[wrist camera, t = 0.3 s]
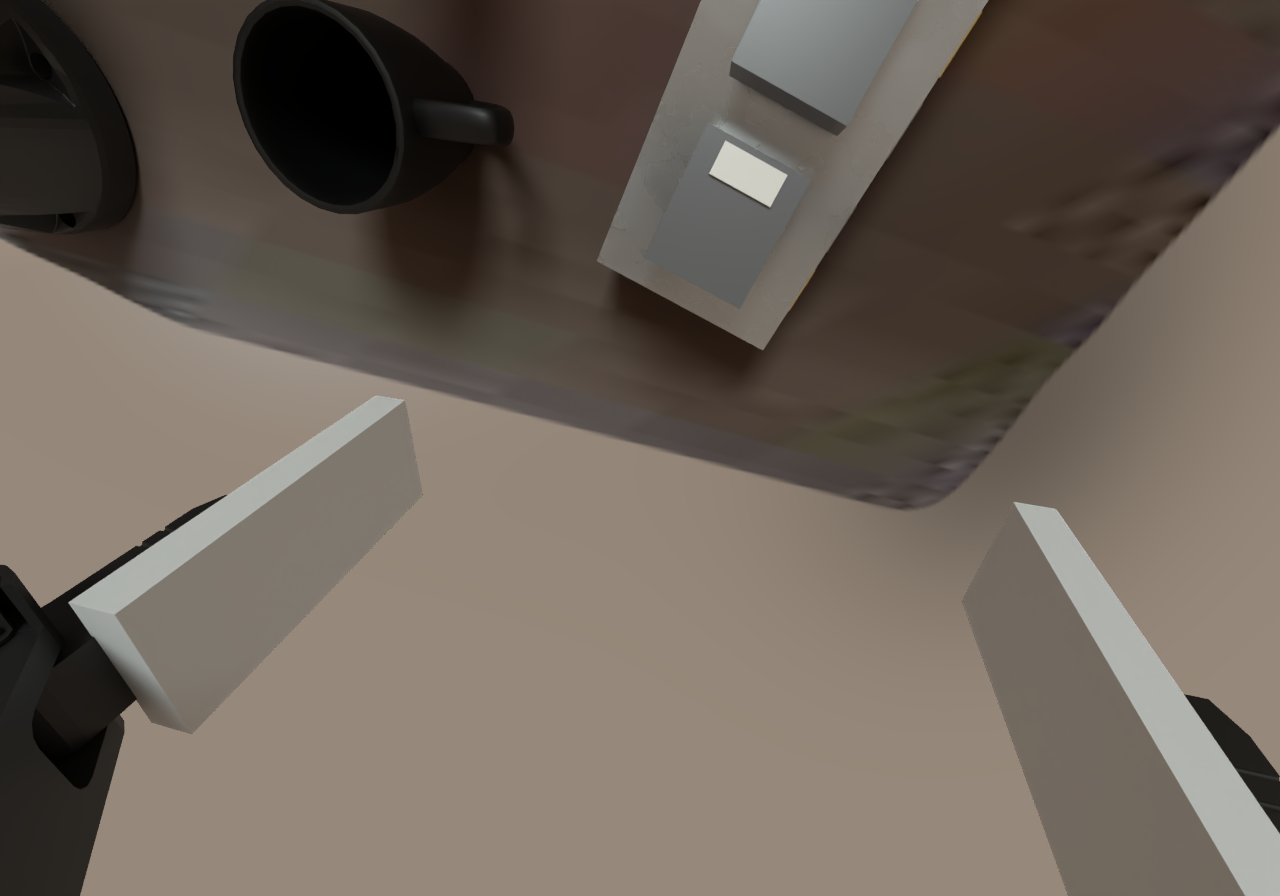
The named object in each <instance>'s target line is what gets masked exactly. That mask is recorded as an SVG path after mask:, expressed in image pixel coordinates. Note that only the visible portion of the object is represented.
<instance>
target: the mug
mask: <svg viewBox="0 0 1280 896" xmlns="http://www.w3.org/2000/svg"><path fill="white" fill-rule="evenodd" d="M233 81H234V87H235V93H236V99H237V104H238V107H239V110H240V113H241V116H242V119H243V122H244V125H245V128H246V130H247V132H248V134H249V136H250V138H251V140H252V142H253V144H254V146H255V148H256V150H257V151H258V153H259V154H260V156H261V157H262V159H263V160H264V161H265V163H266V164H267V166H268V167H269V169H270V170H271V171H272V172H273V173H274V174H275V175H276V176H277V177H278V179H279V180H280V181H281V182H282V183H283V184H284V185H285V186H286V187H287V188H289V189H290V190H291V191H292V192H294V193H295V194H296V195H297V196H299V197H300V198H301V199H303V200H305V201H307V202H309V203H310V204H312V205H314V206H316V207H318V208H321V209H324V210H327V211H331V212H334V213H338V214H359V213H363V212H368V211H372V210H377V209H381V208H385V207H389V206H393V205H396V204H400V203H404V202H407V201H410V200H412V199H414V198H416V197H418V196H420V195H422V194H423V193H425V192H426V191H428V190H430V189H431V188H433V187H434V186H436V185H437V184H439V183H440V182H442V181H443V180H444V179H445V178H446V177H447V176H448V175H449V174H450V173H451V172H452V171H453V170H454V169H455V168H456V167H457V166H458V165H459V164H460V163H461V162H462V161H464V160H465V158H466V157H467V156H468V155H469V154H470V152H471V150H472V148H473V146H474V144H477V145H486V146H506V145H508V144H510V143H511V141H512V139H513V136H514V122H513V117H512V115H511V112H510V111H509V110H508V109H507V108H505V107H503V106H500V105H497V104H492V103H486V102H479V101H474V99H473V96H472V93H471V91H470V89H469V87H468V85H467V84H466V82H465V81H464V79H463V78H462V77H461V75H460V74H459V73H458V72H457V71H456V70H455V69H454V68H453V67H452V66H451V65H449V64H448V63H446V62H445V61H444V60H443V59H442V58H440V57H439V56H438V55H437V54H436V53H435V52H434V51H433V50H431V49H430V48H429V47H428V46H427V45H425V44H424V43H423V42H422V41H420V40H419V39H417V38H416V37H415V36H413V35H412V34H410V33H408V32H406V31H405V30H403V29H401V28H400V27H398V26H396V25H394V24H392V23H391V22H389V21H387V20H385V19H383V18H381V17H379V16H377V15H375V14H373V13H371V12H368V11H365V10H361V9H358V8H354V7H351V6H347V5H343V4H339V3H335V2H331V1H327V0H266V1H264V2H262V3H261V4H259V5H258V6H257V7H256V8H255V9H254V10H253V11H252V12H251V13H250V14H249V15H248V16H247V18H246V20H245V21H244V23H243V25H242V27H241V29H240V31H239V33H238V36H237V41H236V46H235V50H234V55H233Z"/></svg>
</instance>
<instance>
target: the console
mask: <svg viewBox="0 0 1280 896" xmlns="http://www.w3.org/2000/svg"><path fill="white" fill-rule="evenodd" d="M759 2H760V0H701V2H700V5H699V7H698V10H697V12H696V15H695V17H694V20H693V22H692V25H691V27H690V30H689V32H688V35H687V37H686V40H685V42H684V45H683V47H682V50H681V52H680V55H679V57H678V60H677V62H676V65H675V67H674V70H673V72H672V75H671V77H670V80H669V82H668V85H667V87H666V90H665V92H664V95H663V97H662V100H661V102H660V105H659V107H658V110H657V112H656V115H655V117H654V120H653V122H652V125H651V127H650V130H649V132H648V135H647V137H646V140H645V142H644V145H643V147H642V150H641V152H640V155H639V157H638V160H637V162H636V165H635V167H634V170H633V172H632V175H631V177H630V180H629V182H628V185H627V187H626V190H625V192H624V195H623V197H622V199H621V202H620V204H619V207H618V209H617V212H616V214H615V217H614V219H613V222H612V224H611V227H610V229H609V232H608V234H607V237H606V239H605V242H604V244H603V247H602V249H601V252H600V254H599V257H598V259H597V261H598V262H599V263H601V264H603V265H605V266H607V267H609V268H611V269H612V270H614V271H616V272H618V273H620V274H622V275H624V276H625V277H627V278H629V279H631V280H633V281H635V282H637V283H638V284H640V285H642V286H644V287H646V288H648V289H650V290H651V291H653V292H655V293H657V294H659V295H661V296H663V297H664V298H666V299H668V300H670V301H672V302H674V303H676V304H677V305H679V306H681V307H683V308H685V309H687V310H689V311H690V312H692V313H694V314H696V315H698V316H700V317H702V318H703V319H705V320H707V321H709V322H711V323H713V324H715V325H716V326H718V327H720V328H722V329H724V330H726V331H728V332H729V333H731V334H733V335H735V336H737V337H739V338H741V339H742V340H744V341H746V342H748V343H750V344H752V345H754V346H755V347H757V348H759V349H761V350H764V348H765V347H766V345H767V343H768V342H769V340H770V339H771V337H772V336H773V334H774V333H775V331H776V329H777V328H778V326H779V325H780V323H781V322H782V320H783V319H784V317H785V315H786V314H787V312H788V311H790V309H791V308H792V306H793V305H794V303H795V302H796V300H797V299H798V297H799V296H800V294H801V292H802V291H803V289H804V288H805V286H806V285H807V283H808V282H809V280H810V278H811V277H812V275H813V274H814V272H815V271H816V267H817V266H818V264H819V263H820V261H821V260H822V258H823V256H824V255H825V253H826V252H828V251H829V249H830V247H831V246H832V244H833V243H834V241H835V240H836V238H837V237H838V235H839V234H840V232H841V230H842V229H843V227H844V226H845V224H846V223H847V221H848V220H849V218H850V216H851V215H852V213H853V212H854V210H855V209H856V207H857V204H858V202H859V201H860V199H861V197H862V196H863V194H864V193H865V191H866V190H867V188H868V187H869V185H870V183H871V182H872V180H873V179H874V177H875V176H876V174H877V173H878V171H879V169H880V168H881V166H882V165H883V163H884V162H885V160H886V159H888V158H889V156H890V154H891V153H892V151H893V150H894V148H895V147H896V145H897V144H898V142H899V141H900V139H901V137H902V136H903V134H904V133H905V131H906V130H907V128H908V127H909V125H910V123H911V122H912V120H913V119H914V117H915V116H916V114H917V113H918V111H919V110H920V108H921V106H922V105H923V101H924V100H925V98H926V96H927V95H928V93H929V92H930V90H931V89H932V87H933V86H934V84H935V82H936V81H937V79H938V78H940V77H941V75H942V74H943V72H944V71H945V69H946V68H947V66H948V65H949V63H950V61H951V60H952V58H953V57H954V55H955V54H956V52H957V51H958V49H959V48H960V46H961V44H962V43H963V41H964V40H965V38H966V37H967V35H968V34H969V32H970V30H971V29H972V27H973V26H974V24H975V23H976V21H977V20H978V18H979V17H980V15H981V13H982V9H983V8H984V6H985V5H986V3H987V2H988V0H917V2H916V4H915V6H914V7H913V9H912V11H911V13H910V15H909V16H908V18H907V20H906V22H905V23H904V25H903V27H902V29H901V31H900V32H899V34H898V36H897V38H896V39H895V41H894V43H893V45H892V47H891V48H890V50H889V52H888V54H887V56H886V57H885V59H884V61H883V63H882V64H881V66H880V68H879V70H878V72H877V73H876V75H875V77H874V79H873V81H872V82H871V84H870V86H869V88H868V89H867V91H866V93H865V95H864V97H863V98H862V100H861V102H860V104H859V106H858V107H857V109H856V111H855V113H854V114H853V116H852V118H851V120H850V122H849V123H848V125H847V127H846V128H845V129H844V130H843V131H842V132H841V133H840V134H839V135H838V136H836V135H834V134H832V133H830V132H829V131H827V130H825V129H823V128H821V127H820V126H818V125H816V124H814V123H813V122H811V121H809V120H807V119H805V118H804V117H802V116H800V115H798V114H797V113H795V112H793V111H791V110H789V109H788V108H786V107H784V106H782V105H781V104H779V103H777V102H775V101H773V100H772V99H770V98H768V97H766V96H765V95H763V94H761V93H759V92H757V91H756V90H754V89H752V88H750V87H749V86H747V85H745V84H743V83H741V82H740V81H738V80H736V79H734V78H733V77H731V76H729V74H730V66H731V60H732V58H733V56H734V54H735V52H736V50H737V48H738V46H739V44H740V42H741V39H742V37H743V35H744V33H745V31H746V29H747V27H748V25H749V23H750V21H751V19H752V16H753V14H754V12H755V10H756V8H757V6H758V4H759ZM708 123H710V124H712V125H713V126H715V127H717V128H719V129H721V130H722V131H724V132H726V133H728V134H730V135H731V136H733V137H735V138H737V139H739V140H740V141H742V142H744V143H746V144H748V145H749V146H751V147H753V148H755V149H757V150H758V151H760V152H762V153H764V154H766V155H767V156H769V157H771V158H773V159H774V160H776V161H778V162H780V163H782V164H783V165H785V166H787V167H789V168H791V169H792V170H794V171H796V172H798V173H800V174H801V175H803V176H805V177H807V178H809V179H810V180H811V182H810V184H809V186H808V187H807V189H806V191H805V193H804V195H803V196H802V198H801V200H800V202H799V204H798V205H797V207H796V209H795V211H794V212H793V214H792V216H791V218H790V220H789V221H788V223H787V225H786V227H785V229H784V230H783V232H782V234H781V236H780V238H779V239H778V241H777V243H776V245H775V247H774V248H773V250H772V252H771V254H770V256H769V257H768V259H767V261H766V263H765V265H764V266H763V268H762V270H761V272H760V273H759V275H758V277H757V279H756V281H755V282H754V284H753V286H752V288H751V290H750V291H749V293H748V295H747V297H746V299H745V300H744V302H743V304H742V306H741V308H740V309H738V308H736V307H735V306H733V305H731V304H729V303H727V302H725V301H724V300H722V299H720V298H718V297H716V296H714V295H712V294H711V293H709V292H707V291H705V290H703V289H701V288H700V287H698V286H696V285H694V284H692V283H690V282H688V281H687V280H685V279H683V278H681V277H679V276H677V275H675V274H674V273H672V272H670V271H668V270H666V269H664V268H663V267H661V266H659V265H657V264H655V263H653V262H651V261H650V260H648V259H646V258H644V257H643V256H644V254H645V252H646V250H647V248H648V246H649V244H650V242H651V240H652V238H653V236H654V234H655V232H656V229H657V227H658V225H659V223H660V221H661V219H662V217H663V215H664V213H665V211H666V209H667V207H668V205H669V202H670V200H671V198H672V196H673V194H674V192H675V190H676V188H677V186H678V184H679V182H680V180H681V178H682V175H683V173H684V171H685V169H686V167H687V165H688V163H689V161H690V159H691V157H692V155H693V153H694V151H695V149H696V146H697V144H698V142H699V140H700V138H701V136H702V134H703V132H704V130H705V128H706V126H707V124H708Z"/></svg>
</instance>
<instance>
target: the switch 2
mask: <svg viewBox="0 0 1280 896" xmlns="http://www.w3.org/2000/svg"><path fill="white" fill-rule="evenodd" d="M916 2H917V0H760V2H759V4H758V6H757V8H756V10H755V12H754V14H753V16H752V19H751V21H750V23H749V25H748V27H747V29H746V31H745V33H744V35H743V37H742V39H741V42H740V44H739V46H738V48H737V50H736V52H735V54H734V56H733V58H732V60H731V66H730V74H729V76H731V77H733V78H734V79H736V80H738V81H740V82H741V83H743V84H745V85H747V86H749V87H750V88H752V89H754V90H756V91H757V92H759V93H761V94H763V95H765V96H766V97H768V98H770V99H772V100H773V101H775V102H777V103H779V104H781V105H782V106H784V107H786V108H788V109H789V110H791V111H793V112H795V113H797V114H798V115H800V116H802V117H804V118H805V119H807V120H809V121H811V122H813V123H814V124H816V125H818V126H820V127H821V128H823V129H825V130H827V131H829V132H830V133H832V134H834V135H836V136H838V135H839V134H840V133H841V132H842V131H843V130H844V129H845V128H846V127H847V125H848V123H849V122H850V120H851V118H852V116H853V114H854V113H855V111H856V109H857V107H858V106H859V104H860V102H861V100H862V98H863V97H864V95H865V93H866V91H867V89H868V88H869V86H870V84H871V82H872V81H873V79H874V77H875V75H876V73H877V72H878V70H879V68H880V66H881V64H882V63H883V61H884V59H885V57H886V56H887V54H888V52H889V50H890V48H891V47H892V45H893V43H894V41H895V39H896V38H897V36H898V34H899V32H900V31H901V29H902V27H903V25H904V23H905V22H906V20H907V18H908V16H909V15H910V13H911V11H912V9H913V7H914V6H915V4H916Z"/></svg>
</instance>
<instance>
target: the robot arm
mask: <svg viewBox="0 0 1280 896" xmlns="http://www.w3.org/2000/svg"><path fill="white" fill-rule="evenodd" d="M135 185H136V166H135V158H134V152H133V147H132V143H131V139H130V136H129V132H128V129H127V126H126V123H125V120H124V118H123V115H122V113H121V110H120V108H119V106H118V103H117V101H116V99H115V97H114V95H113V93H112V91H111V89H110V87H109V85H108V84H107V82H106V80H105V78H104V76H103V75H102V73H101V72H100V70H99V68H98V67H97V65H96V64H95V62H94V61H93V59H92V58H91V56H90V55H89V53H88V52H87V51H86V49H85V48H84V47H83V45H82V44H81V43H80V41H79V40H78V39H77V38H76V36H75V35H74V34H73V33H72V32H71V31H70V29H69V28H68V27H67V26H66V25H65V24H64V23H63V22H62V21H61V19H60V18H59V17H58V16H57V15H56V14H55V13H54V12H53V11H51V10H50V9H49V8H48V7H47V6H46V5H45V4H44V3H43V2H41V1H40V0H0V227H1V228H9V229H17V230H25V231H33V232H41V233H50V234H75V233H81V232H87V231H94V230H100V229H104V228H108V227H110V226H113V225H114V224H116V223H117V222H119V221H120V220H121V219H122V218H123V217H124V216H125V214H126V213H127V212H128V210H129V208H130V206H131V203H132V201H133V197H134V193H135ZM422 495H423V493H422V488H421V484H420V477H419V472H418V467H417V461H416V456H415V451H414V445H413V440H412V435H411V430H410V424H409V419H408V414H407V408H406V403H405V400H400V399H394V398H388V397H382V396H374V397H373V398H371V399H370V400H368V401H367V402H365V403H364V404H362V405H361V406H359V407H358V408H356V409H355V410H353V411H352V412H350V413H349V414H348V415H346V416H345V417H343V418H341V419H340V420H338V421H337V422H335V423H334V424H332V425H331V426H330V427H328V428H327V429H325V430H324V431H322V432H321V433H319V434H318V435H316V436H315V437H313V438H312V439H310V440H309V441H307V442H306V443H304V444H303V445H301V446H300V447H298V448H297V449H295V450H294V451H292V452H291V453H289V454H288V455H286V456H285V457H284V458H282V459H281V460H279V461H278V462H276V463H275V464H273V465H272V466H270V467H269V468H267V469H266V470H264V471H263V472H261V473H260V474H259V475H257V476H255V477H254V478H252V479H251V480H249V481H248V482H246V483H245V484H243V485H242V486H240V487H239V488H237V489H236V490H234V491H233V492H232V493H230V494H229V495H224V496H222V497H220V498H217V499H215V500H212V501H210V502H208V503H205V504H203V505H200V506H198V507H196V508H193V509H192V510H190V511H189V512H187V513H186V514H184V515H182V516H181V517H179V518H178V519H176V520H175V521H173V522H172V523H170V524H169V525H167V526H166V527H165V530H164V531H158V532H157V533H155V534H154V535H152V536H151V537H149V538H148V539H146V540H144V541H143V542H142V545H141V546H140V547H139V546H135V547H134V548H132V549H131V550H129V551H128V552H126V553H125V554H123V555H122V556H120V557H119V558H117V559H116V560H114V561H112V562H111V563H109V564H108V565H106V566H105V567H103V568H102V569H100V570H99V571H97V572H96V573H94V574H93V575H91V576H90V577H88V578H87V579H85V580H84V581H82V582H80V583H79V584H78V585H76V586H74V587H73V588H71V589H70V590H68V591H67V592H65V593H64V594H62V595H61V596H59V597H58V598H56V599H55V600H53V601H52V602H50V603H48V604H47V605H45V606H43V607H42V608H40V606H39V605H38V604H37V602H36V601H35V600H34V598H33V597H32V596H31V594H30V593H29V592H28V590H27V589H26V588H25V586H24V585H23V583H22V582H21V581H20V579H19V578H18V577H17V575H16V574H15V573H14V572H13V571H12V570H11V569H10V568H9V567H8V566H6V565H0V896H80V893H81V890H82V886H83V882H84V879H85V875H86V871H87V868H88V864H89V860H90V857H91V853H92V849H93V846H94V841H95V838H96V835H97V831H98V827H99V824H100V820H101V816H102V813H103V809H104V805H105V801H106V798H107V794H108V790H109V787H110V783H111V780H112V776H113V772H114V769H115V765H116V761H117V758H118V754H119V750H120V747H121V743H122V739H123V735H124V720H123V719H122V717H121V716H120V714H121V713H122V712H123V711H124V710H125V709H126V708H127V707H128V706H130V705H131V704H132V703H133V702H134V701H135V700H137V702H138V703H139V705H140V706H141V708H142V709H143V711H144V712H145V713H146V715H147V716H148V718H149V719H150V721H151V722H152V723H156V724H159V725H163V726H166V727H169V728H172V729H176V730H179V731H183V732H186V733H189V734H192V733H193V732H194V731H195V730H196V729H197V728H198V727H199V726H200V725H201V724H202V723H203V722H204V721H205V720H206V719H207V718H208V717H209V716H210V715H211V714H212V713H213V712H214V711H215V709H216V708H218V706H219V705H220V704H221V703H222V702H223V701H224V700H225V699H226V698H227V697H228V696H229V695H230V694H231V693H232V692H233V691H234V690H235V689H236V688H237V687H238V686H239V685H240V684H241V683H242V682H243V681H244V680H245V678H247V676H248V675H249V674H250V673H251V672H252V671H253V670H254V669H255V668H256V667H257V666H258V665H259V664H260V663H261V662H262V661H263V660H264V659H265V658H266V657H267V656H268V655H269V654H270V653H271V652H272V650H274V648H276V646H277V645H278V644H279V643H280V642H281V641H282V640H283V639H284V638H285V637H286V636H287V635H288V634H289V633H290V632H291V631H292V630H293V629H294V628H295V627H296V626H297V625H298V624H299V623H300V622H301V620H303V618H305V617H306V615H307V614H308V613H309V612H310V611H311V610H312V609H313V608H314V607H315V606H316V605H317V604H318V603H319V602H320V601H321V600H322V599H323V598H324V597H325V596H326V595H327V594H328V593H329V592H330V591H331V590H332V588H334V587H335V585H336V584H337V583H338V582H339V581H340V580H341V579H342V578H343V577H344V576H345V575H346V574H347V573H348V572H349V571H350V570H351V569H352V568H353V567H354V566H355V565H356V564H357V563H358V562H359V561H360V559H362V558H363V556H364V555H365V554H366V553H367V552H368V551H369V550H370V549H371V548H372V547H373V546H374V545H375V544H376V543H377V542H378V541H379V540H380V539H381V538H382V537H383V535H385V534H386V533H387V531H389V530H390V529H391V528H392V527H393V525H394V524H395V523H396V522H397V521H398V520H399V519H400V518H401V517H402V516H403V515H404V514H405V513H406V512H407V511H408V510H409V509H410V508H411V507H412V506H413V505H414V504H415V502H417V501H418V500H419V499H420V498H421V496H422ZM962 603H963V606H964V609H965V611H966V614H967V617H968V620H969V623H970V625H971V628H972V631H973V633H974V636H975V639H976V642H977V645H978V647H979V650H980V653H981V656H982V658H983V661H984V664H985V667H986V669H987V672H988V675H989V678H990V681H991V683H992V686H993V689H994V692H995V694H996V697H997V700H998V703H999V706H1000V708H1001V711H1002V714H1003V716H1004V719H1005V722H1006V725H1007V728H1008V730H1009V733H1010V736H1011V739H1012V742H1013V744H1014V747H1015V750H1016V752H1017V755H1018V758H1019V761H1020V764H1021V766H1022V769H1023V772H1024V775H1025V778H1026V780H1027V783H1028V786H1029V789H1030V791H1031V794H1032V797H1033V800H1034V802H1035V805H1036V808H1037V811H1038V813H1039V816H1040V819H1041V822H1042V825H1043V827H1044V830H1045V833H1046V836H1047V838H1048V841H1049V844H1050V847H1051V849H1052V852H1053V855H1054V858H1055V860H1056V863H1057V866H1058V869H1059V872H1060V874H1061V877H1062V880H1063V883H1064V886H1065V888H1066V891H1067V894H1068V896H1280V781H1279V777H1280V776H1279V775H1278V773H1277V772H1276V771H1275V769H1274V768H1273V767H1272V765H1271V764H1270V763H1269V761H1268V760H1267V759H1266V757H1265V756H1264V755H1263V753H1262V752H1261V751H1260V749H1259V748H1258V747H1257V745H1256V744H1255V743H1254V741H1253V740H1252V739H1251V737H1250V736H1249V735H1248V734H1247V733H1245V732H1244V731H1243V730H1242V729H1241V728H1240V727H1239V726H1238V725H1237V724H1235V723H1234V722H1233V721H1232V720H1231V719H1230V718H1229V717H1228V716H1227V715H1225V714H1224V713H1223V712H1222V711H1221V710H1220V709H1219V708H1217V707H1216V706H1215V705H1214V704H1213V703H1212V702H1211V701H1210V700H1209V699H1204V698H1200V697H1195V696H1190V695H1185V694H1183V693H1182V691H1181V690H1180V688H1179V687H1178V685H1177V684H1176V682H1175V681H1174V679H1173V678H1172V677H1171V675H1170V674H1169V672H1168V671H1167V669H1166V668H1165V666H1164V665H1163V663H1162V662H1161V661H1160V659H1159V658H1158V656H1157V655H1156V653H1155V652H1154V650H1153V649H1152V647H1151V646H1150V645H1149V643H1148V642H1147V640H1146V639H1145V637H1144V636H1143V634H1142V633H1141V631H1140V630H1139V629H1138V627H1137V626H1136V624H1135V623H1134V621H1133V620H1132V618H1131V617H1130V615H1129V614H1128V613H1127V611H1126V610H1125V608H1124V607H1123V605H1122V604H1121V602H1120V601H1119V600H1118V598H1117V597H1116V595H1115V594H1114V592H1113V591H1112V589H1111V588H1110V586H1109V585H1108V584H1107V582H1106V581H1105V579H1104V578H1103V576H1102V575H1101V573H1100V572H1099V570H1098V569H1097V568H1096V566H1095V565H1094V563H1093V562H1092V560H1091V559H1090V557H1089V556H1088V555H1087V553H1086V552H1085V550H1084V549H1083V547H1082V546H1081V544H1080V543H1079V541H1078V540H1077V538H1076V537H1075V536H1074V534H1073V533H1072V531H1071V530H1070V528H1069V527H1068V525H1067V524H1066V522H1065V521H1064V520H1063V518H1062V517H1061V515H1060V514H1059V512H1058V511H1057V510H1056V509H1053V508H1047V507H1041V506H1035V505H1029V504H1023V503H1017V502H1013V503H1012V505H1011V507H1010V509H1009V511H1008V513H1007V515H1006V517H1005V519H1004V521H1003V523H1002V525H1001V527H1000V528H999V530H998V532H997V534H996V536H995V538H994V540H993V542H992V544H991V546H990V548H989V550H988V552H987V554H986V555H985V558H984V560H983V561H982V563H981V565H980V567H979V569H978V571H977V573H976V575H975V577H974V579H973V581H972V583H971V585H970V586H969V588H968V590H967V592H966V594H965V596H964V598H963V600H962Z"/></svg>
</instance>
